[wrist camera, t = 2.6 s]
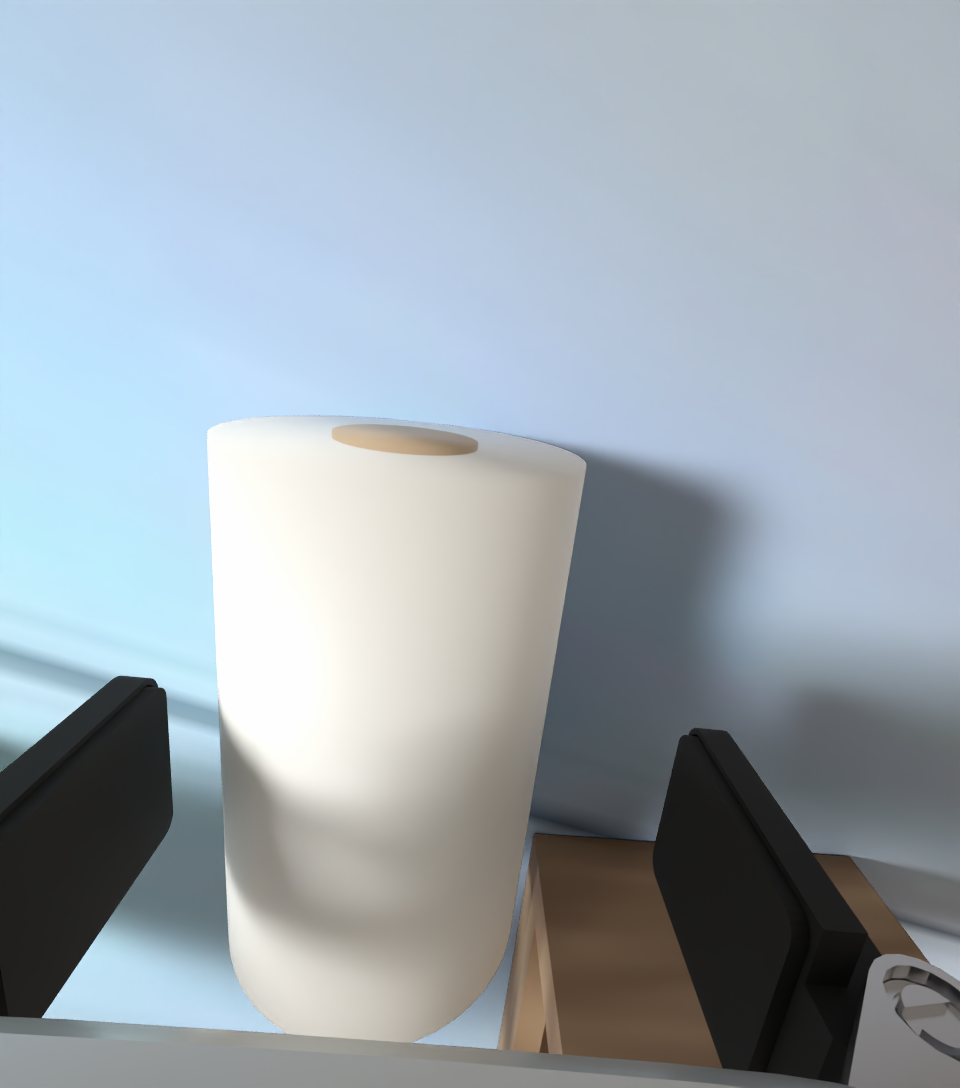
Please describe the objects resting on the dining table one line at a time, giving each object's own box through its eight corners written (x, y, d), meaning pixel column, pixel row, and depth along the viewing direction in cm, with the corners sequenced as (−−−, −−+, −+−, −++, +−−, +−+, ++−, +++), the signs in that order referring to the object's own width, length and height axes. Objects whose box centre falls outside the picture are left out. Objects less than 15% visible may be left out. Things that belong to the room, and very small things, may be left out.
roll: (307, 402, 13) (104, 434, 7) (580, 435, 12) (602, 499, 6) (302, 781, 16) (160, 1016, 10) (519, 820, 15) (497, 1091, 10)
